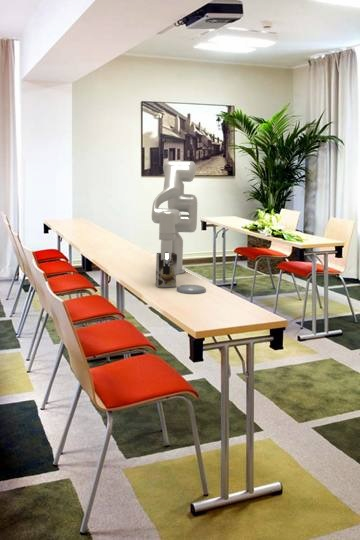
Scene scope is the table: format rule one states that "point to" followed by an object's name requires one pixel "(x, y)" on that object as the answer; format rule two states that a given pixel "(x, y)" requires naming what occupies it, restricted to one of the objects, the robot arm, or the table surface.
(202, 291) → the dish
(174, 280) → the coffee box
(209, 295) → the table surface
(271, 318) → the table surface
